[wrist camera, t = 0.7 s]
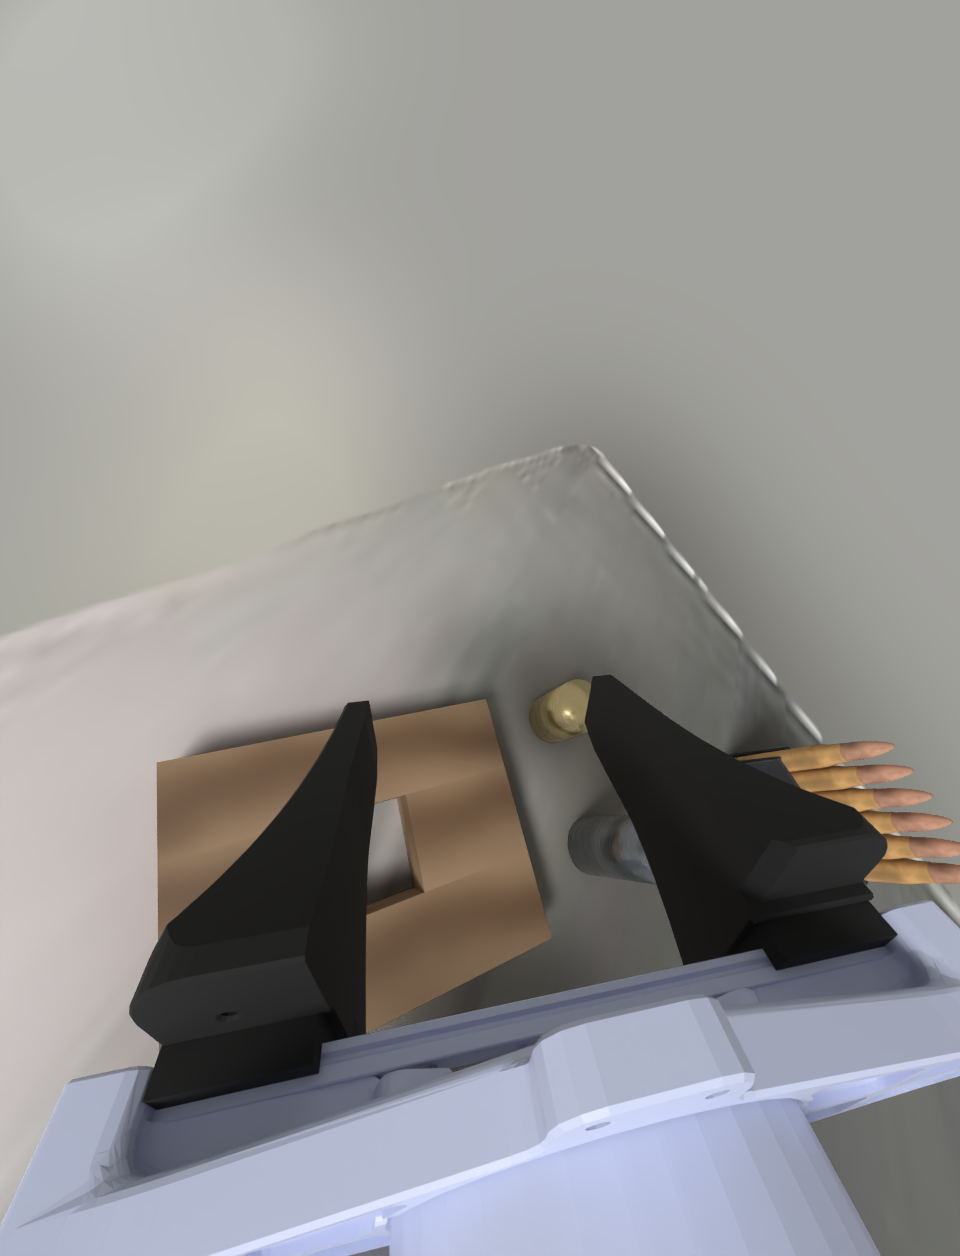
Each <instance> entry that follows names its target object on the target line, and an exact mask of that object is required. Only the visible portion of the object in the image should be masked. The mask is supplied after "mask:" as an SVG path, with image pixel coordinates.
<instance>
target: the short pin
mask: <svg viewBox="0 0 960 1256" xmlns="http://www.w3.org/2000/svg"><path fill="white" fill-rule="evenodd" d="M590 689H591V683H589V682H587V681H585V680H581V679H574V680H570V681H568V682H567V683H565V684H563V685H561V686H559V687H558V688H556V689H554V690H552V691H550V692H549V693H547V694H545V695H543V696H541V697H540V698H538V699H536V700H535V701H534V702H533V703H532V705H531V707H530V710H529V722H530V726H531V728H532V730H533V732H534V733H535V734H536V735H537V736H538V737H539V738H540V739H541V740H543V741H545V742H548V743H557V742H560V741H563V740H566V739H569V738H572V737H575V736H578V735H581V734H584V733H586V732H588V731H587V728H586V725H585V722H584V721H585V716H586V711H587V705H588V700H589V694H590Z"/></svg>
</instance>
